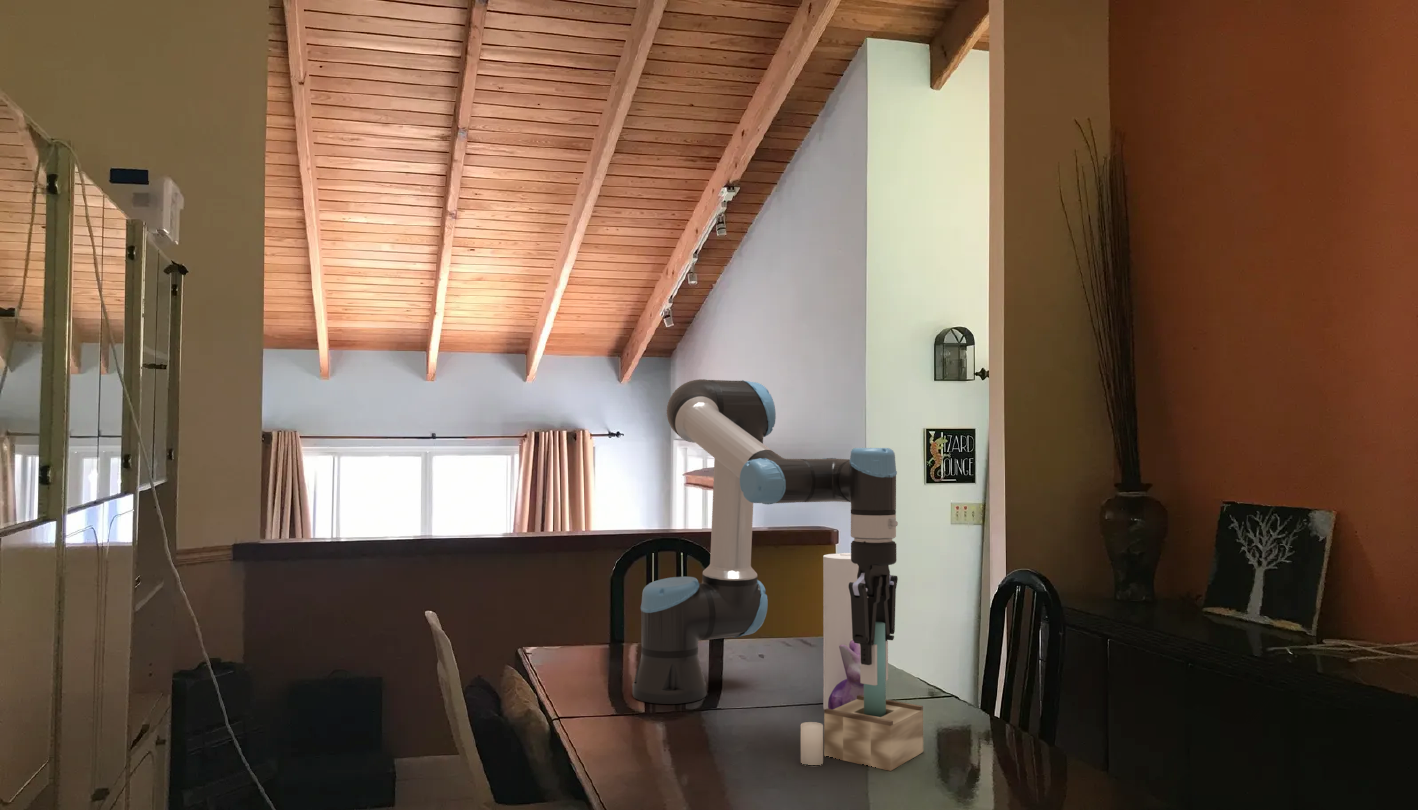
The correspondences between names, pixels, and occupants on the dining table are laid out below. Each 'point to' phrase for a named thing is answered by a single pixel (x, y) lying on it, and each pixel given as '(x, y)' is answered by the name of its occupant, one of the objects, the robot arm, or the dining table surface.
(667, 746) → the dining table surface
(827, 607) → the cylinder container
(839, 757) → the socket block
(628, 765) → the dining table surface
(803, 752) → the cream peg
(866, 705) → the teal peg
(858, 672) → the figurine
